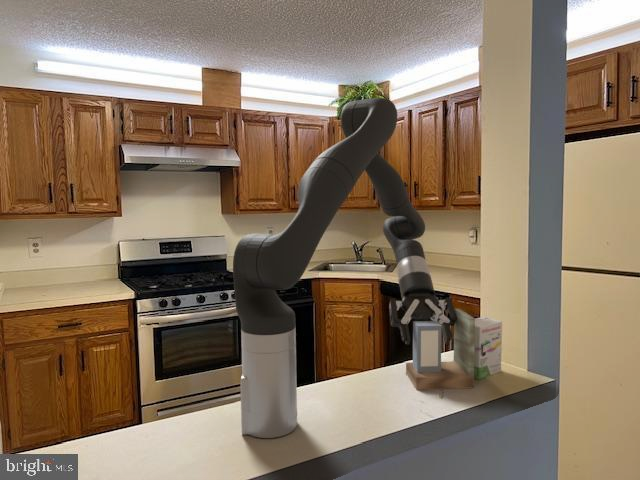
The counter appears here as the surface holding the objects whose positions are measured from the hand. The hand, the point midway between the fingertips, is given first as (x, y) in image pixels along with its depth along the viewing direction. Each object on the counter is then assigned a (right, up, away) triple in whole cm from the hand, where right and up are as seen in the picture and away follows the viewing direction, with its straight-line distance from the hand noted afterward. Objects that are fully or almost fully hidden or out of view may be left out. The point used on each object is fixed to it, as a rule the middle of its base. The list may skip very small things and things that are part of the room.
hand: (428, 342), depth 98 cm
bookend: (+3, -9, +1) cm, 9 cm away
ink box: (+13, -8, +6) cm, 17 cm away
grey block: (0, -6, +1) cm, 6 cm away
